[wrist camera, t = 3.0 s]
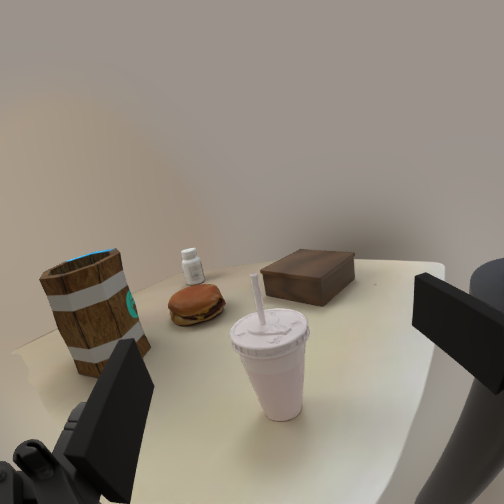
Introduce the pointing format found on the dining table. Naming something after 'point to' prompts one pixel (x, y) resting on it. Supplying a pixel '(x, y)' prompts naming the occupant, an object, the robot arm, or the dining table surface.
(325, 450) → the dining table surface
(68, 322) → the mug
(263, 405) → the smoothie
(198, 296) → the burger
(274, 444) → the dining table surface
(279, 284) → the walnut box
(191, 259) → the pill bottle
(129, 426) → the robot arm
